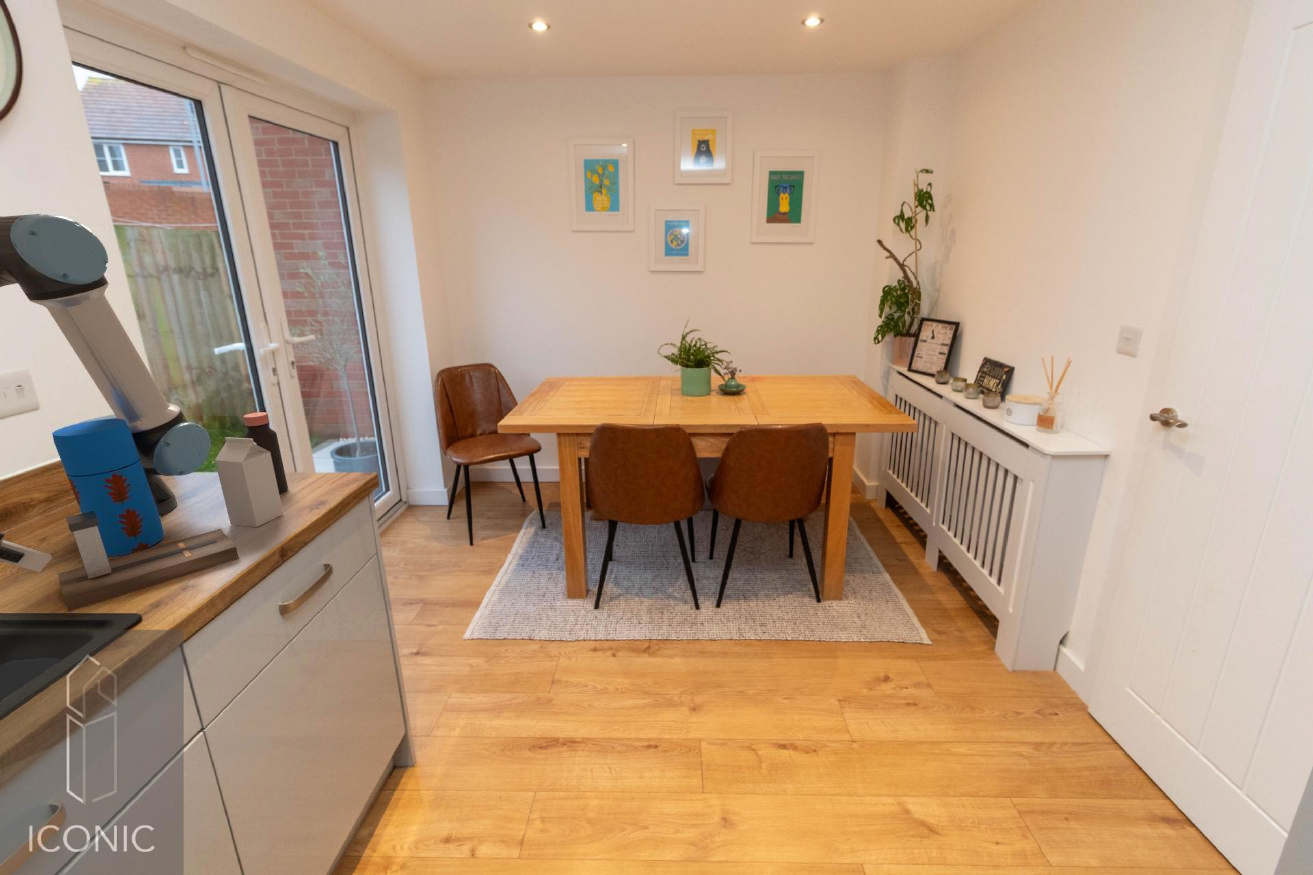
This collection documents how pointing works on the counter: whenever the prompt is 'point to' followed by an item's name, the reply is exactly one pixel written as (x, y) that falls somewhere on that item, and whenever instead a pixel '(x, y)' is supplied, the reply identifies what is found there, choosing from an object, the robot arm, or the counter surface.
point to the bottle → (266, 444)
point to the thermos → (110, 483)
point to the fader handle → (89, 543)
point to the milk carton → (248, 483)
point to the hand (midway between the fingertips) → (45, 563)
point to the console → (147, 568)
